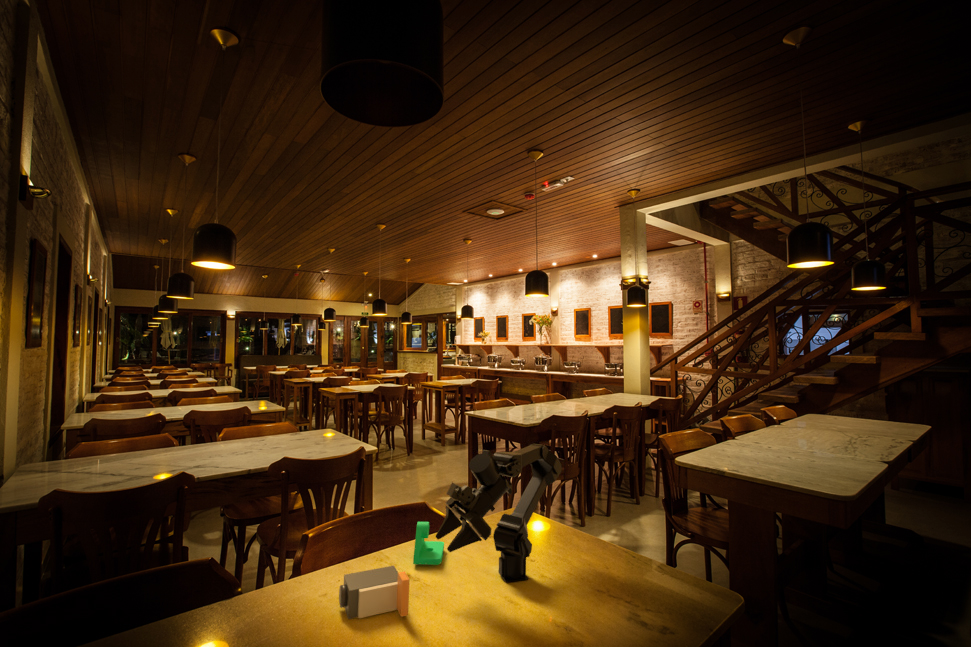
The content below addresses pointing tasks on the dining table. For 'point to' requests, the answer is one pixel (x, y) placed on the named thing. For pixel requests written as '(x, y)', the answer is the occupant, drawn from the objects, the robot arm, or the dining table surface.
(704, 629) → the dining table surface
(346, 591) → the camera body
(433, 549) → the camera mount
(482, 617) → the dining table surface
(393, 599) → the side door
